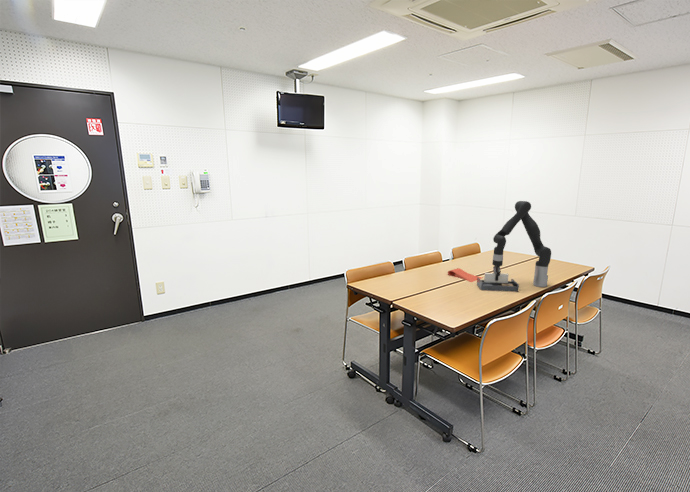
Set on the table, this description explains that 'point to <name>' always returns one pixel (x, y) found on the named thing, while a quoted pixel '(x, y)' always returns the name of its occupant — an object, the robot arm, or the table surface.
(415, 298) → the table surface
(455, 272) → the sheet
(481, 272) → the table surface
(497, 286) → the rack
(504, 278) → the white flat board
